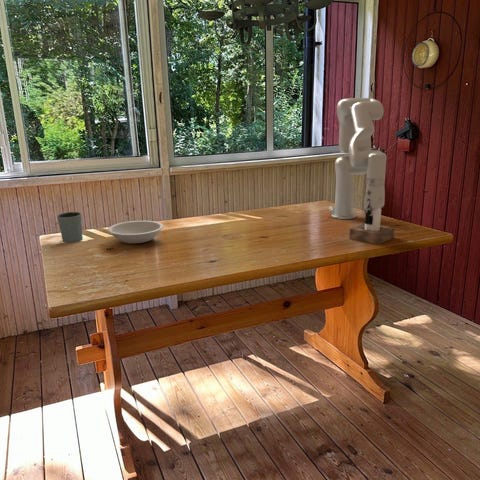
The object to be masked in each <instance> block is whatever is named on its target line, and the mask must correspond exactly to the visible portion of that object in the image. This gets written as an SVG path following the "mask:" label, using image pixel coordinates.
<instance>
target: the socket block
mask: <svg viewBox="0 0 480 480" xmlns="http://www.w3.org/2000/svg"><path fill="white" fill-rule="evenodd" d="M394 235H395V227H393V226H387V225H381V224H380V230H378V231H371V230H365V222H363V223H361V224H358V225H356V226H353V227H351V228H349V237H348V238H349V239H351V240H354V241H360V242H364V243H368V244H369V243H370V244H373V245H374V244H375V245H379V246H380V245H381V244H384V243H386V242H387V241H389V240H391V239H394V237H395V236H394Z"/></svg>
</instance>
